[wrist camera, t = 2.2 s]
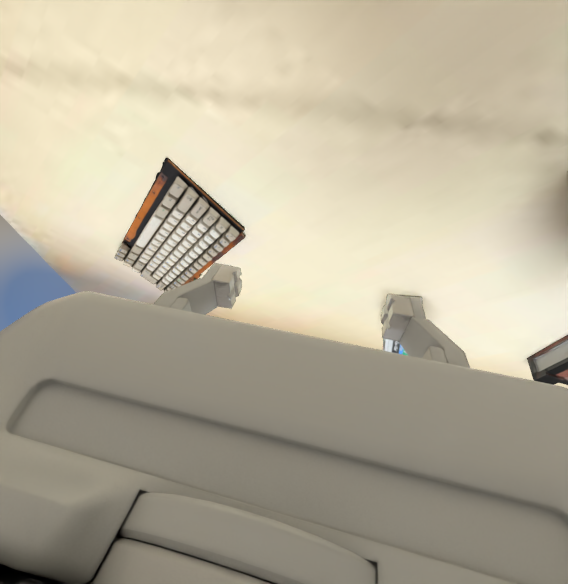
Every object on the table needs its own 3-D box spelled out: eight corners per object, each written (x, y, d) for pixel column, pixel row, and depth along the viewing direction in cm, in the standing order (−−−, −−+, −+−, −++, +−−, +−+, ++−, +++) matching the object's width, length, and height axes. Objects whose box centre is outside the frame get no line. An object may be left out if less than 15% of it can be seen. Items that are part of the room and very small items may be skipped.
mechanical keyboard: (166, 156, 46) (154, 165, 44) (250, 232, 53) (244, 242, 51) (118, 251, 72) (109, 259, 70) (179, 293, 79) (173, 301, 77)
